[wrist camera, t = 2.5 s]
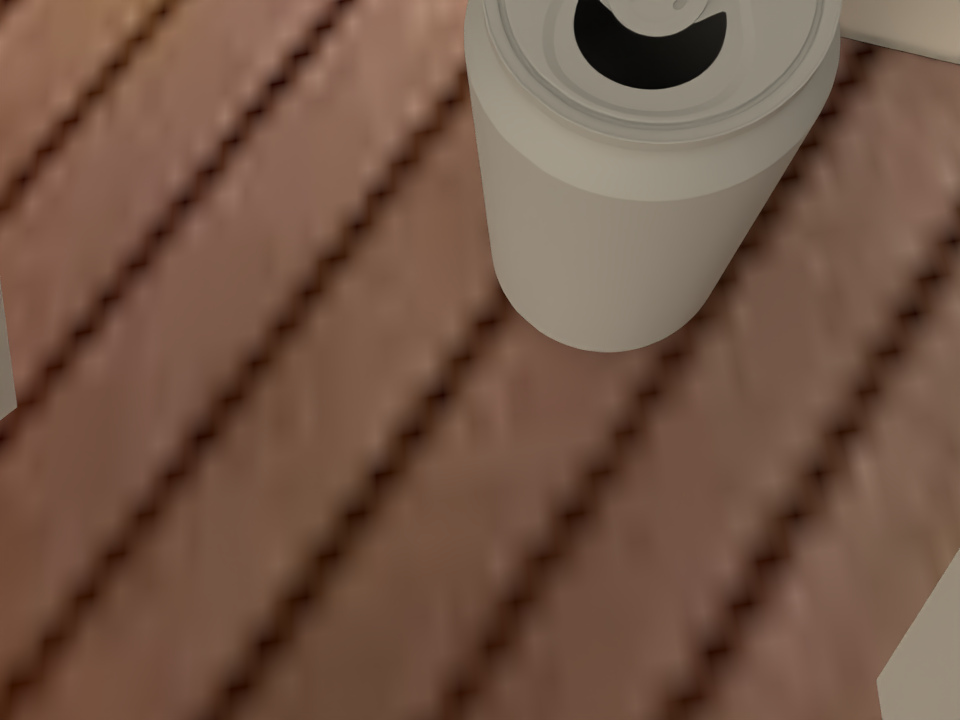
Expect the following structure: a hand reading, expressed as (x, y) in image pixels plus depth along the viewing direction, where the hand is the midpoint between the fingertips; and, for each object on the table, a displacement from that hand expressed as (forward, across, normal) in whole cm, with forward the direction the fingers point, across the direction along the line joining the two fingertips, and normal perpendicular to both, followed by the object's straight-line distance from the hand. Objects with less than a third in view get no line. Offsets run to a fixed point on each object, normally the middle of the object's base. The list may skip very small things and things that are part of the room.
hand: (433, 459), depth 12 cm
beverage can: (+15, +1, -3) cm, 15 cm away
